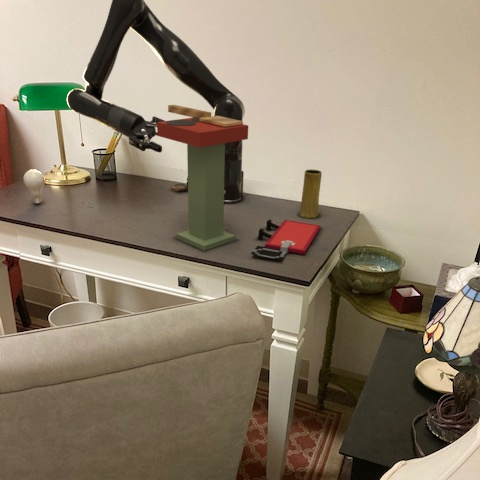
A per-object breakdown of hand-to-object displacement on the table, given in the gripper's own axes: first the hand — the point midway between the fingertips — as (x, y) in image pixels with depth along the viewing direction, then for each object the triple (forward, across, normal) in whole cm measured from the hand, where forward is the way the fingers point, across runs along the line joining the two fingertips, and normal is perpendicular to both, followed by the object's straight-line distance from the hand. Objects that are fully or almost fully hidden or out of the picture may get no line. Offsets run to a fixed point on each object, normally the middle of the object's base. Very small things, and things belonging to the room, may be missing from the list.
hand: (169, 142), depth 161 cm
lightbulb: (-34, -26, +24) cm, 49 cm away
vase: (+46, +13, +15) cm, 50 cm away
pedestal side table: (+25, -19, +9) cm, 33 cm away
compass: (-2, +11, +28) cm, 30 cm away
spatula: (+13, -4, -16) cm, 21 cm away
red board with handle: (+47, -11, +6) cm, 48 cm away
